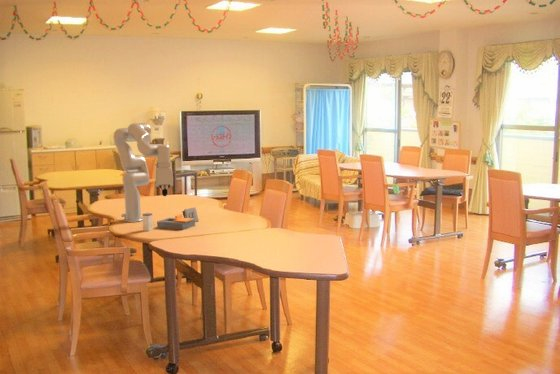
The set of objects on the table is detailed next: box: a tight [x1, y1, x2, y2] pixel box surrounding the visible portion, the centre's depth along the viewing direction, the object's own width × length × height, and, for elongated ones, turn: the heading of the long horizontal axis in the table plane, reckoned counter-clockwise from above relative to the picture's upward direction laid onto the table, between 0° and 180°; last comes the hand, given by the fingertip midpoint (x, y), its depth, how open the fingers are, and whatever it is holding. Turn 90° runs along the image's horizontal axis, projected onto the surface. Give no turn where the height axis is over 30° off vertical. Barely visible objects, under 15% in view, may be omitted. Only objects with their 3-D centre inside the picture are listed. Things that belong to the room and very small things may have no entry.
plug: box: [142, 212, 154, 232], centre depth 361 cm, size 4×4×10 cm
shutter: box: [174, 213, 193, 222], centre depth 368 cm, size 8×9×3 cm
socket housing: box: [156, 217, 196, 231], centre depth 371 cm, size 18×14×4 cm
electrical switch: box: [182, 207, 199, 223], centre depth 386 cm, size 9×5×9 cm, turn 141°
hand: (164, 195), depth 366 cm, fingers closed
